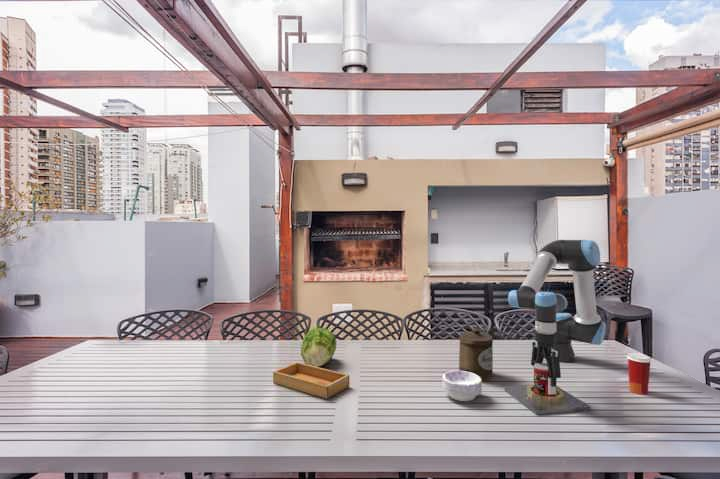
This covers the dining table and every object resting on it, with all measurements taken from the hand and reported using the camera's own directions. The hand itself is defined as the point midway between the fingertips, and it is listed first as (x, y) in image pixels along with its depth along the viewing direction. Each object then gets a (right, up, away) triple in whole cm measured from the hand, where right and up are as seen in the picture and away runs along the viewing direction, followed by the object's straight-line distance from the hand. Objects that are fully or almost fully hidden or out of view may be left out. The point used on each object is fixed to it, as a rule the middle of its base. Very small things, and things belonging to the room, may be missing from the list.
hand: (545, 389), depth 150 cm
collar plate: (0, -4, 0) cm, 4 cm away
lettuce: (-94, -4, +41) cm, 102 cm away
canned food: (0, -2, 0) cm, 2 cm away
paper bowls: (-32, -4, +3) cm, 32 cm away
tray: (-94, -5, +15) cm, 95 cm away
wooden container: (-19, -4, +26) cm, 33 cm away
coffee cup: (+42, -4, +8) cm, 43 cm away
